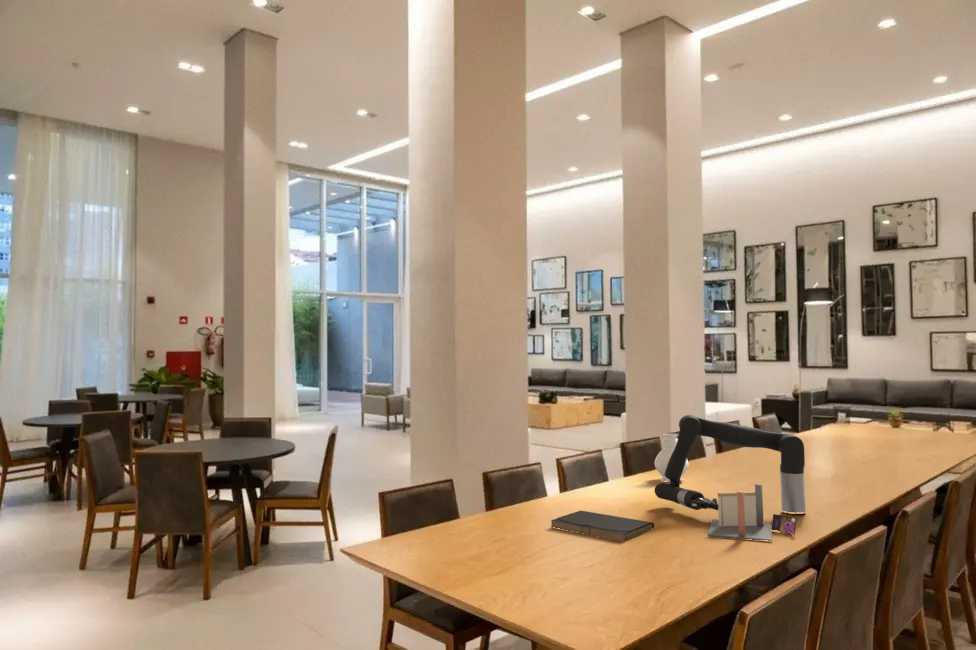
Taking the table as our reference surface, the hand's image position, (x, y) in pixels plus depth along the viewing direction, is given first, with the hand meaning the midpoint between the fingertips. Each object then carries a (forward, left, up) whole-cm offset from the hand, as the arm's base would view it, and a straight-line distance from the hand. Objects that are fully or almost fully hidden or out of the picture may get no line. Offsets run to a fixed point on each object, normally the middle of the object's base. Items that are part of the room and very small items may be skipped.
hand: (719, 507), depth 259 cm
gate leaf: (+3, +7, -6) cm, 9 cm away
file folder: (+19, -43, -8) cm, 48 cm away
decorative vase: (-89, -30, -7) cm, 94 cm away
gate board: (+6, +8, -7) cm, 12 cm away
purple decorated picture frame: (+3, +24, -7) cm, 25 cm away
